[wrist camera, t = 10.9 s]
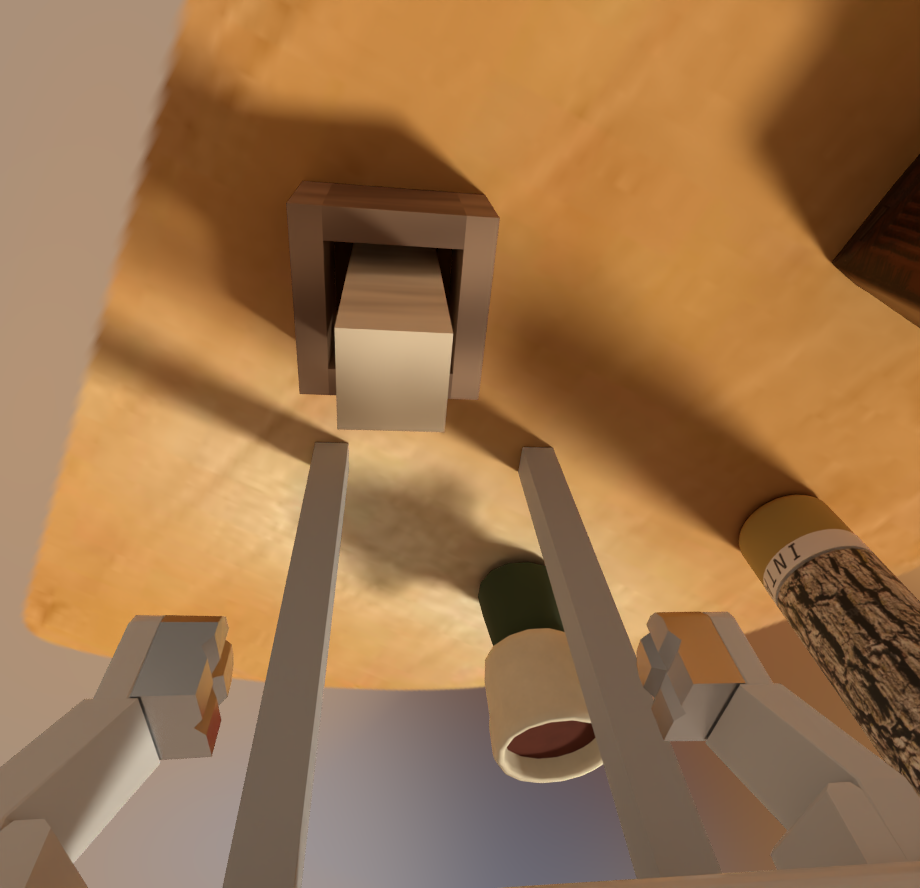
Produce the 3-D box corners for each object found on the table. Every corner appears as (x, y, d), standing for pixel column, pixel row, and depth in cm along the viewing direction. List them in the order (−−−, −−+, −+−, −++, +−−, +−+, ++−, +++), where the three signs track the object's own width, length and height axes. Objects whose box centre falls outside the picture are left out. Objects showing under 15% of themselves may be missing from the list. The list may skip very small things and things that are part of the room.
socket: (302, 180, 28) (286, 202, 24) (485, 194, 29) (499, 218, 25) (311, 350, 33) (299, 393, 29) (468, 357, 34) (478, 399, 30)
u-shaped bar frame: (303, 391, 34) (123, 1050, 12) (570, 400, 36) (861, 978, 14) (309, 474, 37) (176, 1115, 15) (553, 478, 39) (765, 1049, 17)
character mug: (513, 639, 48) (546, 808, 38) (440, 612, 46) (453, 785, 35) (599, 554, 44) (666, 718, 33) (523, 518, 41) (569, 683, 30)
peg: (355, 235, 30) (334, 328, 20) (434, 241, 30) (453, 333, 20) (355, 311, 32) (337, 429, 22) (429, 315, 32) (444, 432, 22)
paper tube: (830, 479, 42) (1261, 901, 21) (820, 547, 45) (1176, 960, 25) (735, 502, 42) (1065, 939, 21) (733, 567, 46) (1011, 991, 25)
